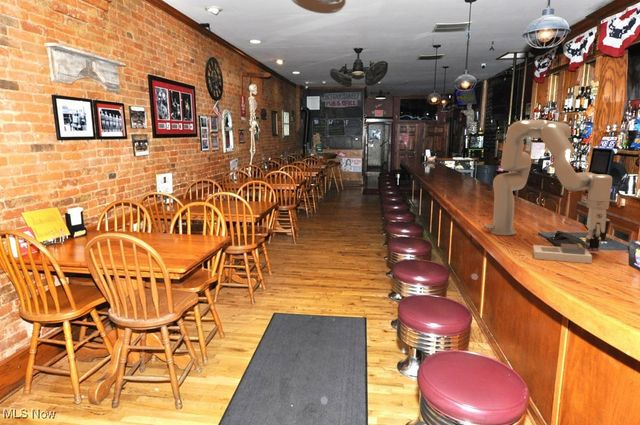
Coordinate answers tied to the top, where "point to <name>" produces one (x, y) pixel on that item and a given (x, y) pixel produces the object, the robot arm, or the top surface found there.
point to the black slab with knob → (565, 239)
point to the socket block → (560, 254)
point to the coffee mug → (602, 235)
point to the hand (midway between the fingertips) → (592, 245)
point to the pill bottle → (587, 243)
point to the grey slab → (572, 248)
